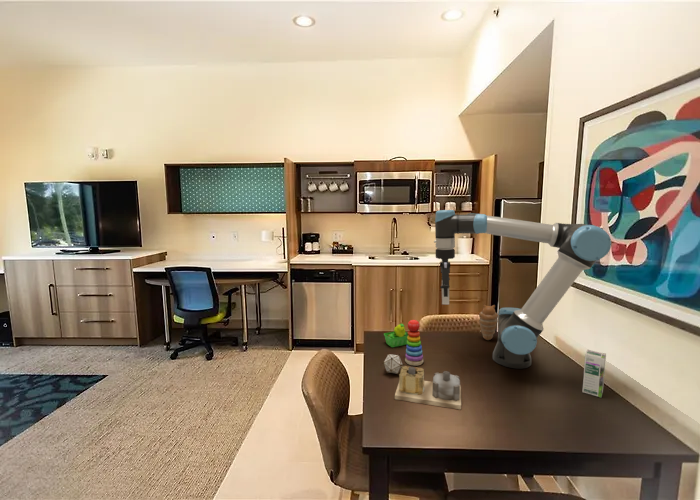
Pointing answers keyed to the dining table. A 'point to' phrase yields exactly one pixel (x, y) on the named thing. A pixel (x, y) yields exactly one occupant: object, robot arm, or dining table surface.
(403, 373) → the brass gear
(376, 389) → the dining table surface
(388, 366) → the game die
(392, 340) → the fruit basket
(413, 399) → the gear board
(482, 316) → the cat ice cream
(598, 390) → the syrup box
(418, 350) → the stacking toy
